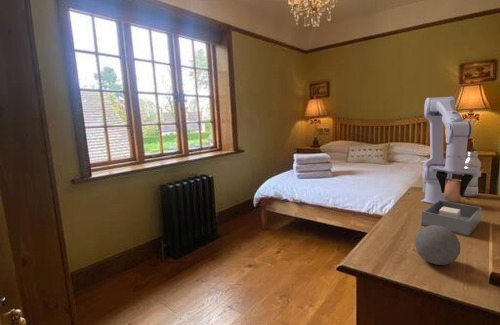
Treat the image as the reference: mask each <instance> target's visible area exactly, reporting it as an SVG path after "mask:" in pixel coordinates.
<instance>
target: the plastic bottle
mask: <svg viewBox="0 0 500 325" xmlns="http://www.w3.org/2000/svg"><path fill="white" fill-rule="evenodd" d="M478 157H479V151H477V150H476V151H475V150H473V151H471V150H469V151H468V150H467V152H466V163H465V168H466V169H473V170H480V171H481V167H482V162H481V160H480V159H479V158H478ZM462 176H464V175H462ZM478 182H479V177H476V176H474V177H473V178H472V179H471V181H470V182H469V184H468V186H467V188H466V190H465V193H464V195H463V196H464V197H465V196H466V197H476V196H477V195H478V194H479V193H478V192H479V186H478V184H479V183H478Z"/></svg>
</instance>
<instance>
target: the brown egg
mask: <svg viewBox="0 0 500 325" xmlns="http://www.w3.org/2000/svg"><path fill="white" fill-rule="evenodd" d="M460 191H461V179H459V178H458V179H457V178H451V179H445V188H444V199H445V200H447V202H453V203H458V202H461V200H462V196H460Z"/></svg>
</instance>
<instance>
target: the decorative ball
mask: <svg viewBox="0 0 500 325" xmlns="http://www.w3.org/2000/svg"><path fill="white" fill-rule="evenodd" d="M414 246H415V250H416V251H417V253H418V255H419V256H420V257H421V258H422V259H423V260H425V261H426V262H428V263H431V264H433V265H438V266H445V265H449V264H451V263H454V262H455V261H456V260H457V259H458V258H459V256H460V254H461V248H462V247H461V242H460V240H459V238H458V236H457V234H455V233H453V232H452V231H450V230H449V229H447V228H445V227H442V226H438V225H431V226H423V228H421V229H419V231H418V232H417V234H416V235H415V239H414Z"/></svg>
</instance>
